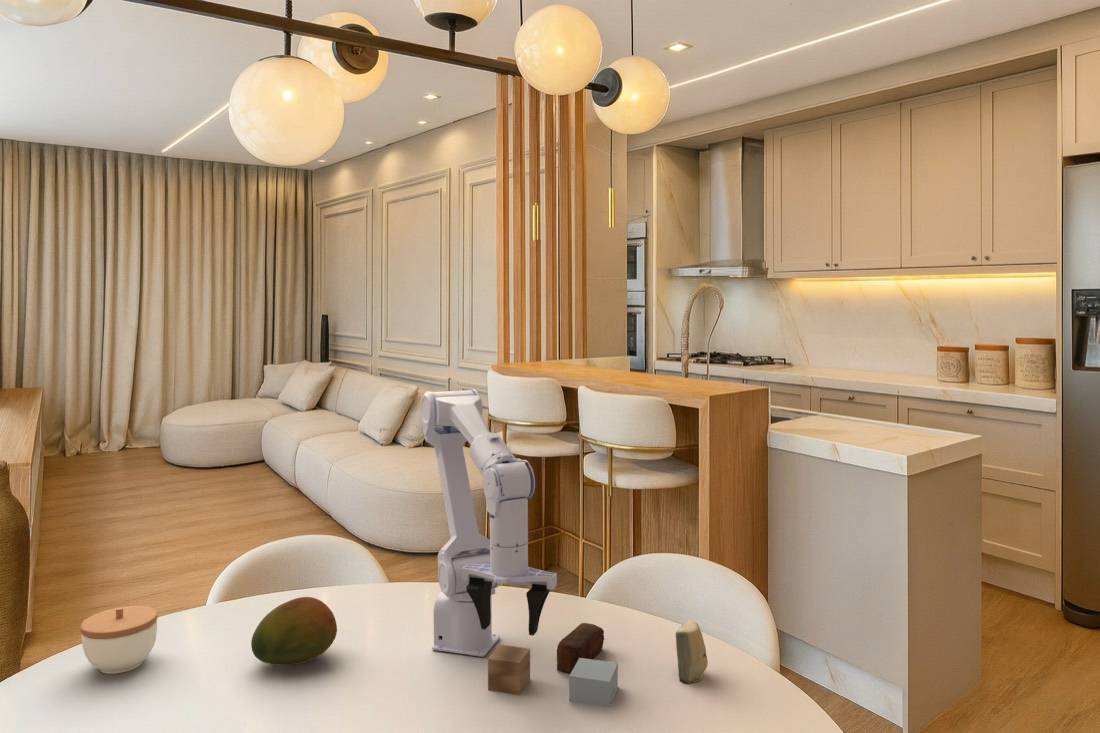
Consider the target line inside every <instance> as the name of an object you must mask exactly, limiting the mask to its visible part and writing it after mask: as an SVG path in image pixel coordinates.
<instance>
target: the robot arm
mask: <svg viewBox="0 0 1100 733" xmlns="http://www.w3.org/2000/svg"><path fill="white" fill-rule="evenodd" d="M482 401H483V400H482V397H481V395H480V393H479V392H478V391H477V389H475V388H473V389H472V388H471V389H469V390H468V389H465V390H464V389H463V390H449V391H448V390H447V391H425V392H424V394H423V395H422V397H421V399H420V409H419V414H420V422H421V426H422V433H423V436H424V440H425V442H426V443H428V444H429V445H431V446H433V448H434V452H435V455H436V462H437V466H438V467H437V469H438V473H439V478H440V485H441V490H442V497H443V503H444V507H445V508H444V509H445V514H446V520H447V524H448V525H447V526H448V531H449V536H450V539H449V540H448V541H447V542H446V543H445V544H444V545H443V546H442V547H441V549H440V550H439V551H438V554H437V579H438V585H439V588H440V590H441V591H440V592H439V593H438V594H437V597H436V598H435V602H434V606H433V645H432V646H431V649H432V650H433V651H437V652H438V651H439V652H444V653H446V652H447V653H451V654H452V653H453V654H460V655H468V656H472V657H473V656H474V657H481V658H482V657H485V656H486V655H487V654H488V653H489V651H490V650H491V649H492V648H493V647H494V646H495V645H496V643H497V642H498V641H499V640H500V639H501V636H500V635H501V634H496V633H493V632H492V631H493V628H492V627H493V626H492V625H493V623H492V622H493V621H492V618H493V617H492V615H493V614H492V609H493V608H492V603H493V602H492V597H493V596H492V595H495V594H496V589H497V588H499V587H500V585H507V584H511V585H522V586H531V588H529V590H528V591H527V592H526V596H525V597H526V600H527V606H528V635H529V636H531V637H532V636H533V637H534V636H535V635H536V634H537V632H538V631H539V630H538V629H539V623H540V618H541V614H542V611H543V608H544V605H545V603H546V600H547V598H548V597H549V596H548V595H549V594H550V591H553V590H555V588H556V587H557V586H558V574H557V572H551V571H547V570H542V569H538V568H534V567H530V566H529V551H528V550H529V546H528V545H529V517H528V516H529V507H528V505H529V502H528V501H529V500H528V499H531V498H532V497H533V495H534V493H535V489H536V478H535V473H534V469H533V468H532V465H531V464H530V462H529V461H528V460H526V459H521V458H520V457H519V458H517V457H515V455H514V454H513V452H512V451H511V449H509V447H508V445H507V444H506V442H505V441H504V440H503V438H502V437H501V436H500V434H497V432H496V433H495V432H490V430H489V428H488V425H487V424H486V421H485V420H484V418H483V408H484V407H483V402H482ZM466 442H468V443H469V444H470V447H469V456H470V458H471V460H472V462H473V463H474V465H475V466H476V468H477V469H478V471H479V473H480V475H481V476H482V488H483V492H484V496H485V497H484V498H485V507H486V511H487V513H489V538H488V537H486V536H484V535H482V534H481V533H479V528H478V527H479V526H478V523H477V517H476V512H475V511H476V510H475V506H474V500H473V495H472V490H471V484H470V479H469V474H468V468H467V464H466V457H465V452H464V444H465V443H466Z"/></svg>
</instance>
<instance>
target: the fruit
mask: <svg viewBox="0 0 1100 733" xmlns="http://www.w3.org/2000/svg"><path fill="white" fill-rule="evenodd" d="M337 633H338V626H337V620H336V617H335V615H334V612H333V611H332V610H331V609H330V607H329V606H328V605H327V604H326V603H324V601H322V600H320V599H318V598H316V597H311V596H302V597H297V598H293V599H291V600H288V601H285V602H284V603H281V604H280V605H277V606H276V607H275V608H273V609H272V610H271V611H270V612H268V613H267V614H266V615H265V616H264V617H263V618H262V619H261V621H260V622H259V624H258V625H257V626H256V628H255V630H254V632H253V634H252V637H251V643H250V645H251V650H252V653H253V656H254V657H255V658H257V660H258V661H260V662H262V663H264V664H268V665H273V666H290V665H297V664H301V663H306V662H308V661H311V660H313V659H315V658H317V657H320V656H321V655H322V654H324V653H325V652H326V651H327V650H328V649H329V648H330V647H331V646H332V644H333V643H334V641H335V639H336V638H337Z"/></svg>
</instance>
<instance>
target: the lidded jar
mask: <svg viewBox="0 0 1100 733" xmlns="http://www.w3.org/2000/svg"><path fill="white" fill-rule="evenodd" d="M158 617H159V616H158V611H157V610H156V609H155V608H153V607H151V606H146V605H129V606H128V605H126V606H119V607H114V608H111V609H106V610H103V611H100V612H97V613H95V614H93V615H91V616H89V617H87V618H86V619H84V620H83V621H82V623H81V624H80V626H79V627H80V634H81V643H82V649H83V653H84V655H85V657H86V659H87V661H88V662H89V663H90V664H91V666H93V667H95V668H96V669H98V670H99V672H101V673H103V674H106V675H117V673H118V674H122V673H127V672H129V671H132V669H133V670H134V669H136V668H139V667H140V666H141V665H142V664H143V663H144V660H145V659H147V657H148V656H149V655H150V654H151V652H152V650H153V649H154V646H155V643H156V640H157V633H158V632H157V631H158Z"/></svg>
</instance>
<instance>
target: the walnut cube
mask: <svg viewBox="0 0 1100 733" xmlns="http://www.w3.org/2000/svg"><path fill="white" fill-rule="evenodd" d="M530 680H531V648H529V647H519V646H511V645H504V644H499V645H498V646H497V647H496V648H495V650H493V652H492V653H491V654H490V655H489V656H488V658H487V691H491V692H497V693H504V694H508V695H509V694H510V695H515V696H520V695H521V694H522V692H523V691H524V689H525V688H526V687H527V685H528V683H530Z"/></svg>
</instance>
